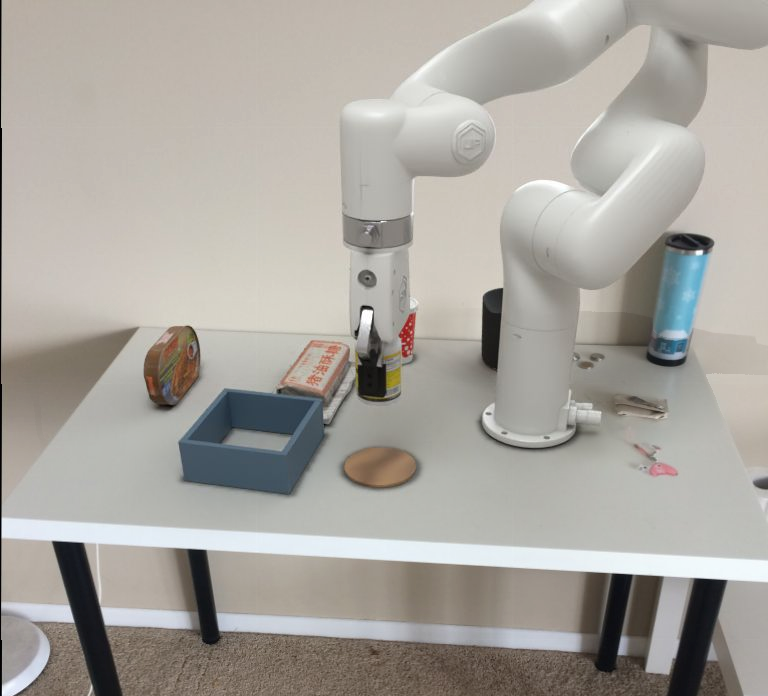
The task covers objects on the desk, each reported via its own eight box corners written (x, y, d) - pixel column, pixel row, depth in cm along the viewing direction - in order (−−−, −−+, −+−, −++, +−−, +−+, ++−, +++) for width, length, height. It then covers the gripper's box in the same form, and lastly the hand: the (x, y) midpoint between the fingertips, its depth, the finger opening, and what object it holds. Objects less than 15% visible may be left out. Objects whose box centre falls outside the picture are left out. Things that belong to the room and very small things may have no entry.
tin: (167, 415, 121) (158, 360, 116) (146, 414, 121) (136, 358, 116) (205, 369, 133) (197, 316, 128) (185, 367, 133) (177, 315, 128)
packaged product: (298, 334, 131) (362, 340, 129) (300, 363, 134) (362, 369, 132) (257, 387, 117) (328, 394, 115) (260, 418, 120) (330, 426, 118)
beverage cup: (370, 359, 135) (369, 271, 127) (394, 346, 139) (394, 260, 131) (402, 370, 132) (402, 280, 124) (425, 356, 136) (427, 268, 128)
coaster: (422, 454, 112) (422, 451, 112) (407, 491, 105) (407, 489, 104) (355, 446, 114) (354, 443, 113) (335, 482, 106) (335, 479, 106)
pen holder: (535, 347, 138) (541, 286, 133) (544, 373, 131) (551, 310, 125) (476, 348, 139) (479, 287, 133) (481, 374, 131) (485, 310, 125)
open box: (324, 435, 116) (322, 398, 113) (289, 494, 104) (286, 455, 101) (229, 424, 119) (224, 387, 115) (184, 480, 107) (177, 441, 104)
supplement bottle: (360, 385, 106) (359, 308, 100) (404, 388, 105) (405, 311, 100) (352, 406, 102) (350, 326, 96) (398, 409, 101) (398, 330, 95)
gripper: (394, 257, 84) (393, 421, 95) (428, 208, 98) (424, 356, 109) (320, 251, 86) (327, 413, 96) (364, 204, 100) (366, 351, 110)
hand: (378, 382), depth 102 cm, fingers closed on supplement bottle, 5 cm apart
